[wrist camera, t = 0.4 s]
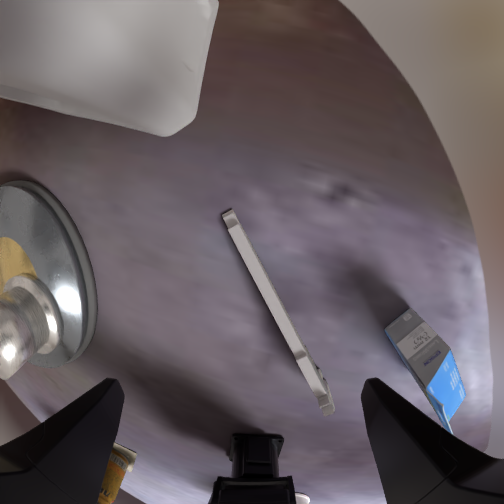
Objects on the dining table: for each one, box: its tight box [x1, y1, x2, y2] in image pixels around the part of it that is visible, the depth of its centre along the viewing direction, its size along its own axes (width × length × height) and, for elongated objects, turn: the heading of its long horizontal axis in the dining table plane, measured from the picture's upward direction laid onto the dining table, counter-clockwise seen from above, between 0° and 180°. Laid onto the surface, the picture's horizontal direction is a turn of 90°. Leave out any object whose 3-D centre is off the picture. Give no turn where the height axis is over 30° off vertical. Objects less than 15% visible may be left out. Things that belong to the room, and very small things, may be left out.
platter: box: [0, 185, 89, 368], centre depth 23 cm, size 22×22×2 cm
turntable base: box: [0, 180, 98, 364], centre depth 24 cm, size 23×23×1 cm
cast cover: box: [0, 273, 64, 380], centre depth 19 cm, size 9×9×9 cm
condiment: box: [97, 443, 137, 504], centre depth 26 cm, size 7×8×12 cm
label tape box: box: [384, 308, 466, 434], centre depth 20 cm, size 9×4×12 cm, turn 39°
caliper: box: [222, 209, 335, 417], centre depth 22 cm, size 20×1×6 cm, turn 28°
